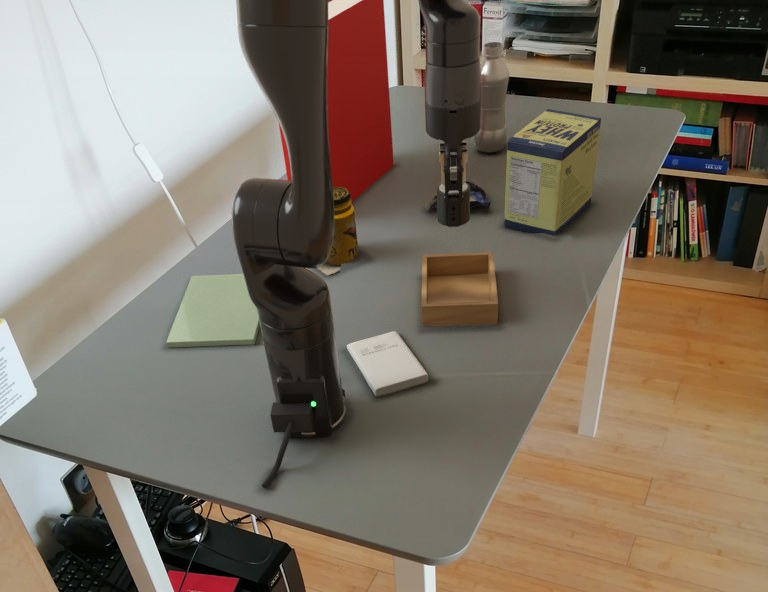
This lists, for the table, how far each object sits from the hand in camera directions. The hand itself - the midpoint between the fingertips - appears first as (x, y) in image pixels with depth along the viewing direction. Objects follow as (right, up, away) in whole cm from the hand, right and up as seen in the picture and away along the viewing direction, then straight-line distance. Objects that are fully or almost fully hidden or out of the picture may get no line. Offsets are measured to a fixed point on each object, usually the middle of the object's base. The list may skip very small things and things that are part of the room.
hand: (453, 216), depth 121 cm
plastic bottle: (+12, +32, +50) cm, 61 cm away
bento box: (+2, -10, +11) cm, 15 cm away
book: (-18, +20, +42) cm, 50 cm away
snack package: (+4, +14, +34) cm, 37 cm away
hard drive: (-10, -23, 0) cm, 25 cm away
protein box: (+20, +11, +29) cm, 37 cm away
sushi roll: (0, 0, 0) cm, 0 cm away
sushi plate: (-37, -11, +14) cm, 41 cm away
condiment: (-19, 0, +23) cm, 29 cm away
